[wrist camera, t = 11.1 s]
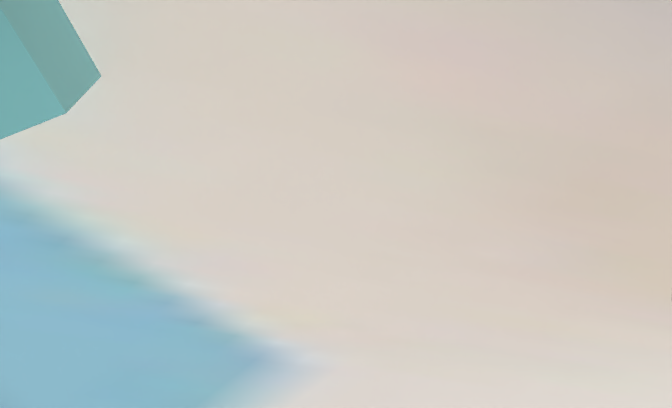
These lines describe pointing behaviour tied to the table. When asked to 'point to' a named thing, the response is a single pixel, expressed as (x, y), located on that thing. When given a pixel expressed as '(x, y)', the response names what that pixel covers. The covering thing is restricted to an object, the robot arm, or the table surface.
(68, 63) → the teal plinth
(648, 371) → the table surface
